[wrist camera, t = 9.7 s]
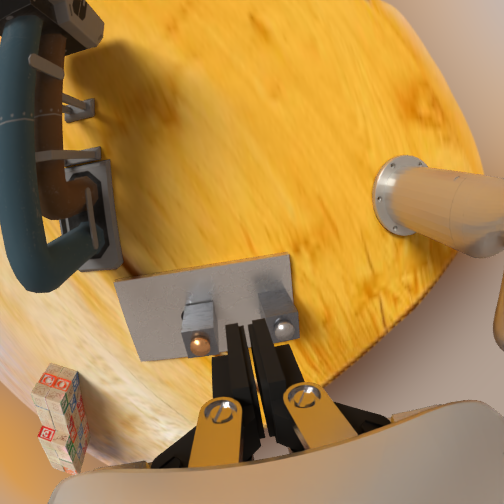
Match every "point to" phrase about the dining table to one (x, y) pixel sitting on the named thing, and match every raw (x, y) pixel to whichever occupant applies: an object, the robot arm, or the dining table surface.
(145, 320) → the hole plate
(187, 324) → the block
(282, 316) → the fixed leg
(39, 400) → the stack of blocks
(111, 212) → the curved pipe assembly
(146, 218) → the dining table surface
